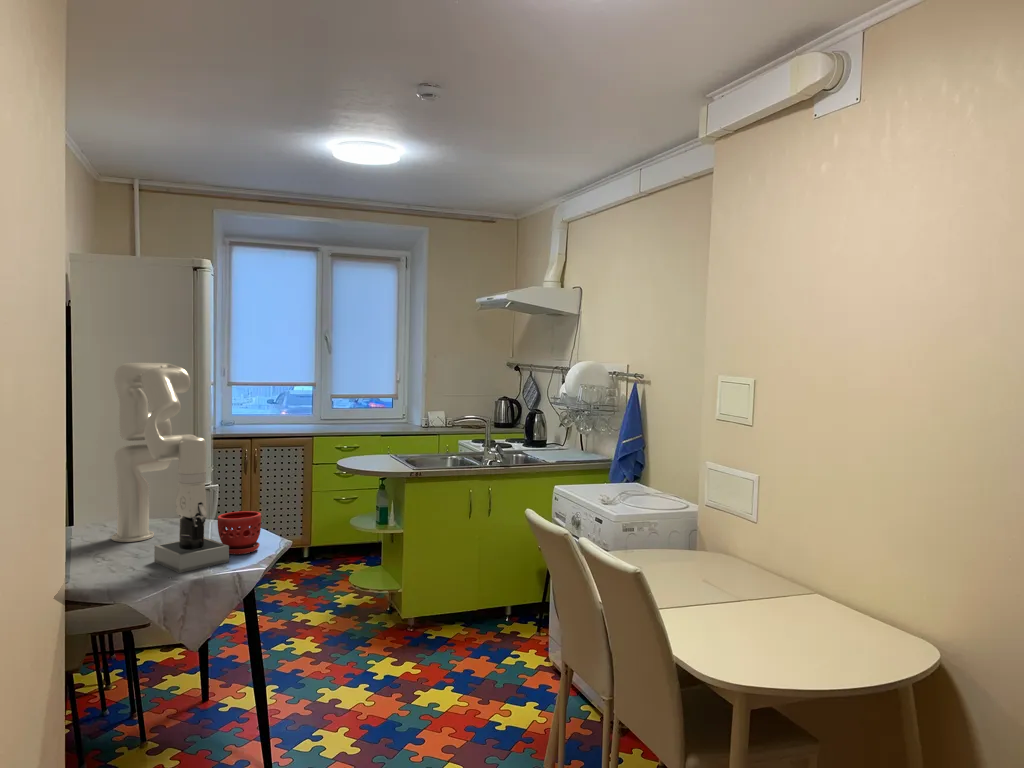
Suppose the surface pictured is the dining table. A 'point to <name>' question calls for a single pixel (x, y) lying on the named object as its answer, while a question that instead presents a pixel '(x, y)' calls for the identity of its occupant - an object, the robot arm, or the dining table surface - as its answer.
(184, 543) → the supplement bottle
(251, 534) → the plant pot
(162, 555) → the tray
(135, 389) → the robot arm
